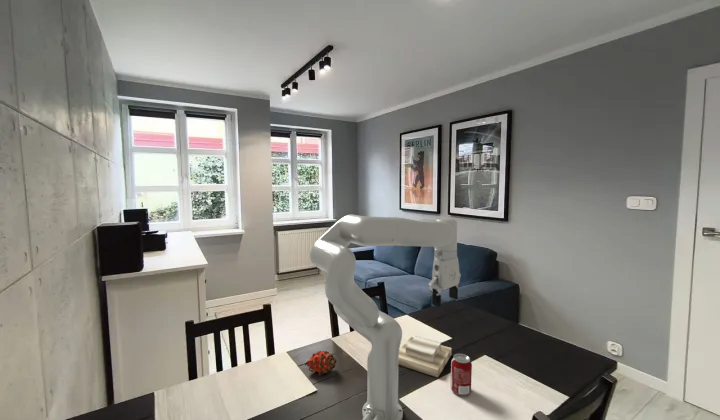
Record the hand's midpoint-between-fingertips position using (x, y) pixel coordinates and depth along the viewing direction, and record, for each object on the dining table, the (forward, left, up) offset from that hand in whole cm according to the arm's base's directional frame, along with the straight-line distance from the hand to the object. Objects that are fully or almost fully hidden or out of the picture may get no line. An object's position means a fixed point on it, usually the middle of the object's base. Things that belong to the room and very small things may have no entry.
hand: (445, 301), depth 110 cm
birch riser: (+11, +12, -30) cm, 34 cm away
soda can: (-1, -6, -31) cm, 31 cm away
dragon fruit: (-18, +42, -31) cm, 55 cm away
